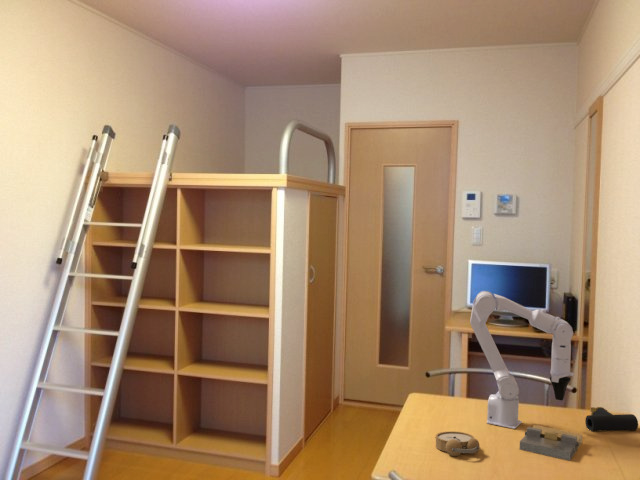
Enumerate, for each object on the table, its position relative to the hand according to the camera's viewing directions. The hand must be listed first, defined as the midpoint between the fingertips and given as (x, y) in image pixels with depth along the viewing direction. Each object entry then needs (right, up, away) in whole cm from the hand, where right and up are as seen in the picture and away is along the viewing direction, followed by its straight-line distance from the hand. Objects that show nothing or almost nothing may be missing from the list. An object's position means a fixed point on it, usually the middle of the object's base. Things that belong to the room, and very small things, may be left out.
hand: (559, 399), depth 199 cm
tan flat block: (-6, -10, -12) cm, 17 cm away
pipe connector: (+16, -10, +3) cm, 19 cm away
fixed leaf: (-11, -10, -18) cm, 23 cm away
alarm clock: (-37, -10, -19) cm, 43 cm away
